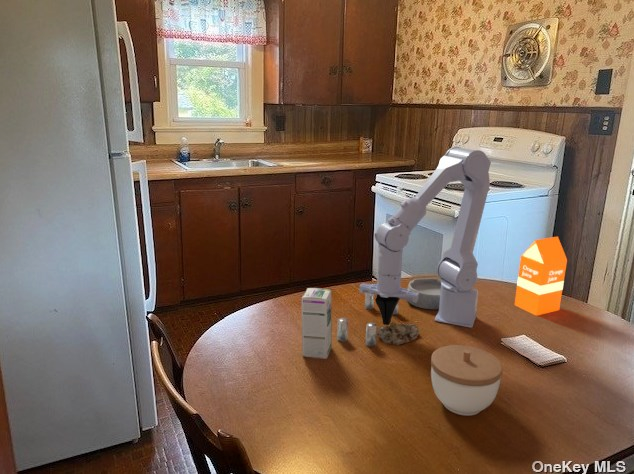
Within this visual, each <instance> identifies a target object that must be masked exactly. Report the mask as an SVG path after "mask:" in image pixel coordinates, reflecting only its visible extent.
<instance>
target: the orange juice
mask: <svg viewBox="0 0 634 474" xmlns="http://www.w3.org/2000/svg"><path fill="white" fill-rule="evenodd" d="M560 241H561V240H560V239H559V236H553V237H552V236H551V237H546V238H541V239H535V240H534V241H533V242H532V244H531V245H530V246H529V247H528V248H527V249H526V250H525V251H524V252H523V254H521V255H520V261H519V266H518V268H519V269H518V275H517V282H516V291H515V299H514V306H516V307H518V308H520V309H522V310H524V311H526V312H528V313H530V314H532V315H534V316H542V315H544V314H549V313H552V312H557V311H560V307H561V301H562V300H561V299H562V294H563V289H564V283H565V276H566V270H567V263H568V259H567V256H566V253H565V251H564V248H563V246H562V244H561V242H560Z"/></svg>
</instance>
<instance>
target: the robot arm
mask: <svg viewBox="0 0 634 474" xmlns="http://www.w3.org/2000/svg"><path fill="white" fill-rule="evenodd" d="M491 163H492V161H491V160H490V158H488V156H487V155H486V153H485V152H484V151H482V150H481V149H479V150H478V149H469V148H465V147H464V148H462V147H460V146H452V147H451V148H449V149H448V150H447V151H446V152H445V154H444V155H443V156H442V157H440V159H439V163H438V165H437V167H436V168H435V169H434V171H433V172H432V174H431V175H430V176H429V178H428V179H427V181H426V182H425V183H424V184H423V185H422V187H421V189H420V190H419V191H418V192H417V194H416V195H415V196H414V197H407V199H406V200H402V201H401V202H400V204H399V205H400V206H399V208H398V209H397V210H396V211H395V212H394V213H393V215H392V216H391V217H389V218H388V219H387V221H385V222H384V223H382V224H380V225H379V226H378V227H377V230H376V232H375V233H374V240H375V241H376V242H377V243H378V253H377V255H378V256H377V275H376V276H377V279H376V283H360V284H359V286H358V287H359V289H358V292H359V293H360V294H365V293H370V294H374V295H376V297H375V298H374V302H375V303H376V305H377V307H378V309H379V312H380V315H381V320H382V325H383V326H390V323H392V322H391V321H392V317H393V315H392V314H393V312H394V309H395V307H396V305H397V303H398V304H399V302H398V301H400V300H405V301H407V300H410V301H412V302H415V303H417V301H418V298H419V293H418V292H414V291H410V290H407V288H404V287H402V286H401V285H402V269H403V268H402V266H403V250H404V248H405V247H407V245H408V242H409V238H410V235H411V232H412V231H413V230H414V228H416V226H417V225H418V224H419V223H420V222H421V220H422V219H423V218H424V217H426V215H427V206H428V205H429V204H430V203H431V202H432V201H433V200H434V199H435V198H436V196H439V195H438V194H440V193H441V191H442V190H444V188H446V187H447V185H448V184H449V183H451V182H458V181H459V182H461V184H462V186H463V187H464V191H463V194H462V200H461V203H460V208H459V212H458V214H457V215H458V216H457V220H456V225H455V229H454V232H453V237H452V241H451V245H450V248H448V249H446V250H445V251H444V252H443V255H442V257H441V259H440V260H439V262H438V263H437V267H436V274H437V276H438V277H439V279H441V280H440V282H441V292H440V304H439V309H438V311H437V312H436V313H437V314H436V316H435V317H434V322H440V323H445V324H450V325H454V326H455V325H456V326H460V327H466V328H474V327H473V326H474V324H475V321H476V318H477V315H478V310H477V309H478V299H479V290H478V289H475V288H474V287H475V285H476V283H477V281H478V272H477V269H478V264H479V263H478V261H477V259H476V257H475V255H474V249H475V246H476V240H477V237H478V234H479V229H480V225H481V221H482V218H483V217H482V216H483V215H484V214H483V213H484V210H485V205H486V203H487V197H488V194H489V189H490V185H491V182H490V174H489V173H490V171H489V170H490V169H491V168H490V167H491Z"/></svg>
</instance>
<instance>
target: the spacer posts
mask: <svg viewBox="0 0 634 474" xmlns="http://www.w3.org/2000/svg"><path fill="white" fill-rule="evenodd" d="M364 295H365V296H364V309H366V310H373V309H375V307H374V306H375V305H374V303H375V294H370V293H364ZM399 301H400V300H399ZM399 301H398V303H397V305H396V307H395V309H394V312H393V314H392V316H395V315H398V314H399ZM336 322H337V323H336V324H337V325H336V326H337V330H336V331H337V332H336V333H337V334H336V340H337V341H339V342H347V340H348V324H349V323H348V318H345V317H340V318H337V321H336ZM377 326H378V325H377V323H375V322H367V323H366V324H365V328H366V329H365V346H367V347H369V348H370V347H371V348H374V347H376V345H377V329H378V328H377Z"/></svg>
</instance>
